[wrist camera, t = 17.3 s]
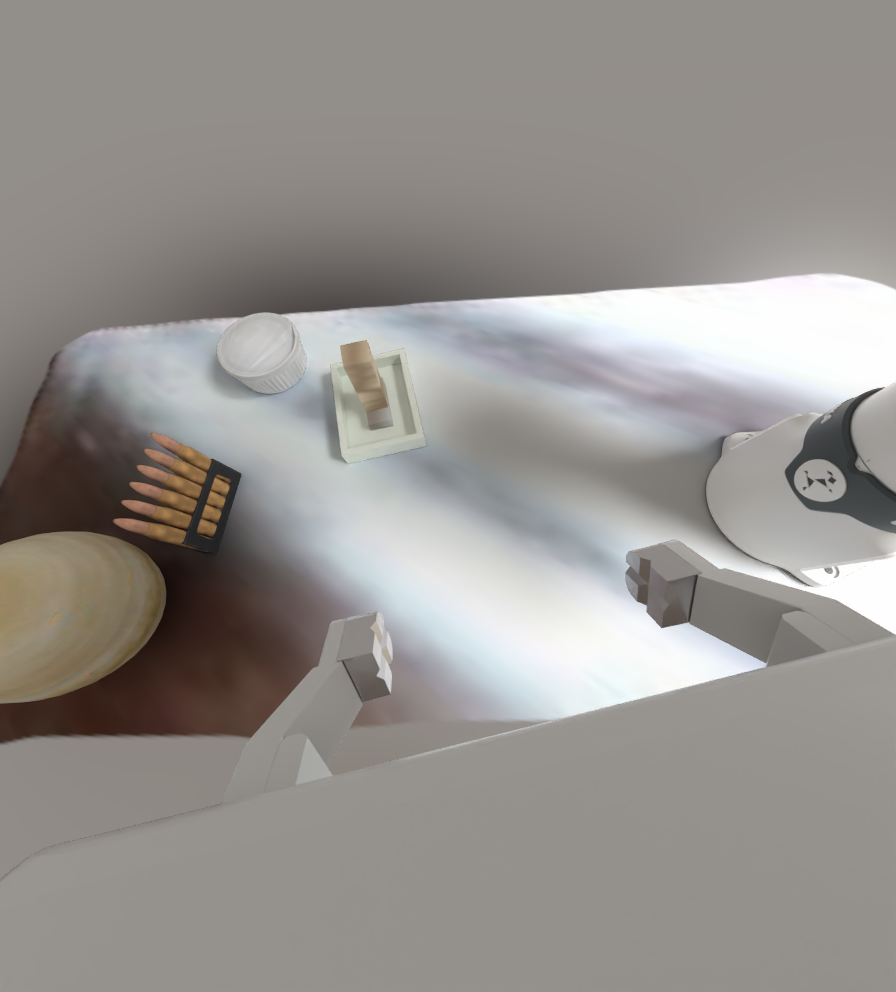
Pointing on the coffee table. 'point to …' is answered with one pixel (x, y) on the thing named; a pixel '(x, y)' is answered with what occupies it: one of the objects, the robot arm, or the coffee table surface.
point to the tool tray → (353, 417)
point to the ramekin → (263, 353)
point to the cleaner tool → (367, 383)
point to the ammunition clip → (184, 498)
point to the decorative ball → (72, 611)
